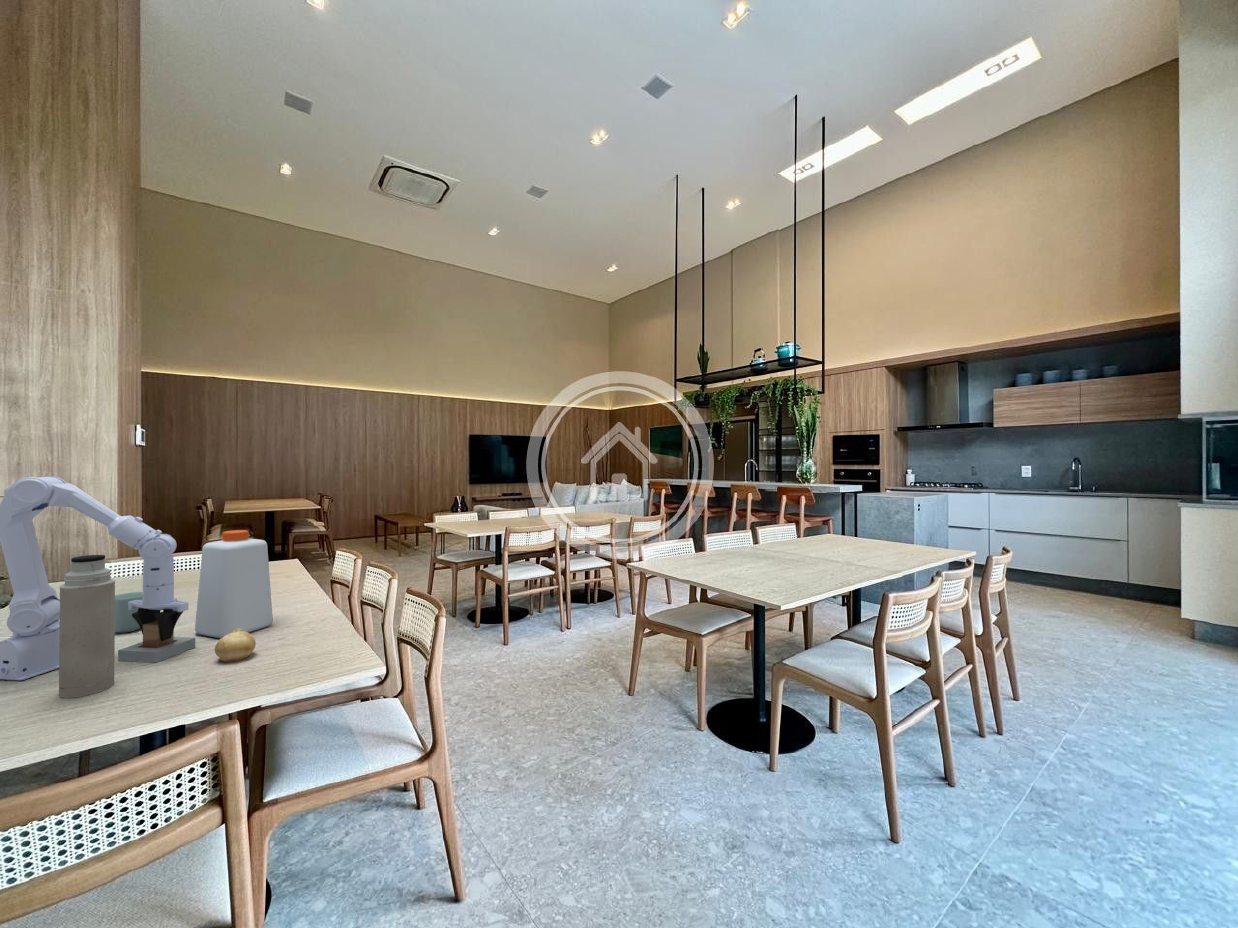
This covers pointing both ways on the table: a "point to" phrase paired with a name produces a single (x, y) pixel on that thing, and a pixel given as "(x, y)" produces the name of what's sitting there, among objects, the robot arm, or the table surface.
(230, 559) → the plastic bottle
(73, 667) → the thermos bottle
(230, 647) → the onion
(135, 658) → the grey flat square frame
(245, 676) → the table surface
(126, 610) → the cup
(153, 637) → the wooden rectangular block
